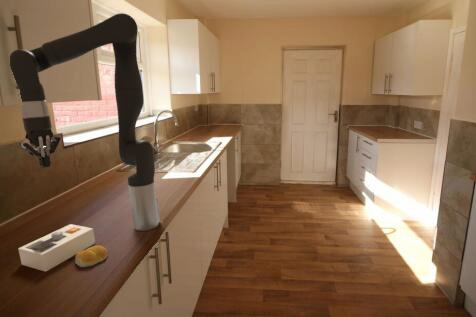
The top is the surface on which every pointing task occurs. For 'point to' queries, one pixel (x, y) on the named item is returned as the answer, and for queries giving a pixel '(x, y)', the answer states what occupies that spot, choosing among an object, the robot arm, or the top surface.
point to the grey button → (57, 236)
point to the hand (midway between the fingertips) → (45, 167)
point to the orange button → (72, 230)
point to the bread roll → (91, 256)
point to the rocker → (42, 244)
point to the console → (56, 248)
